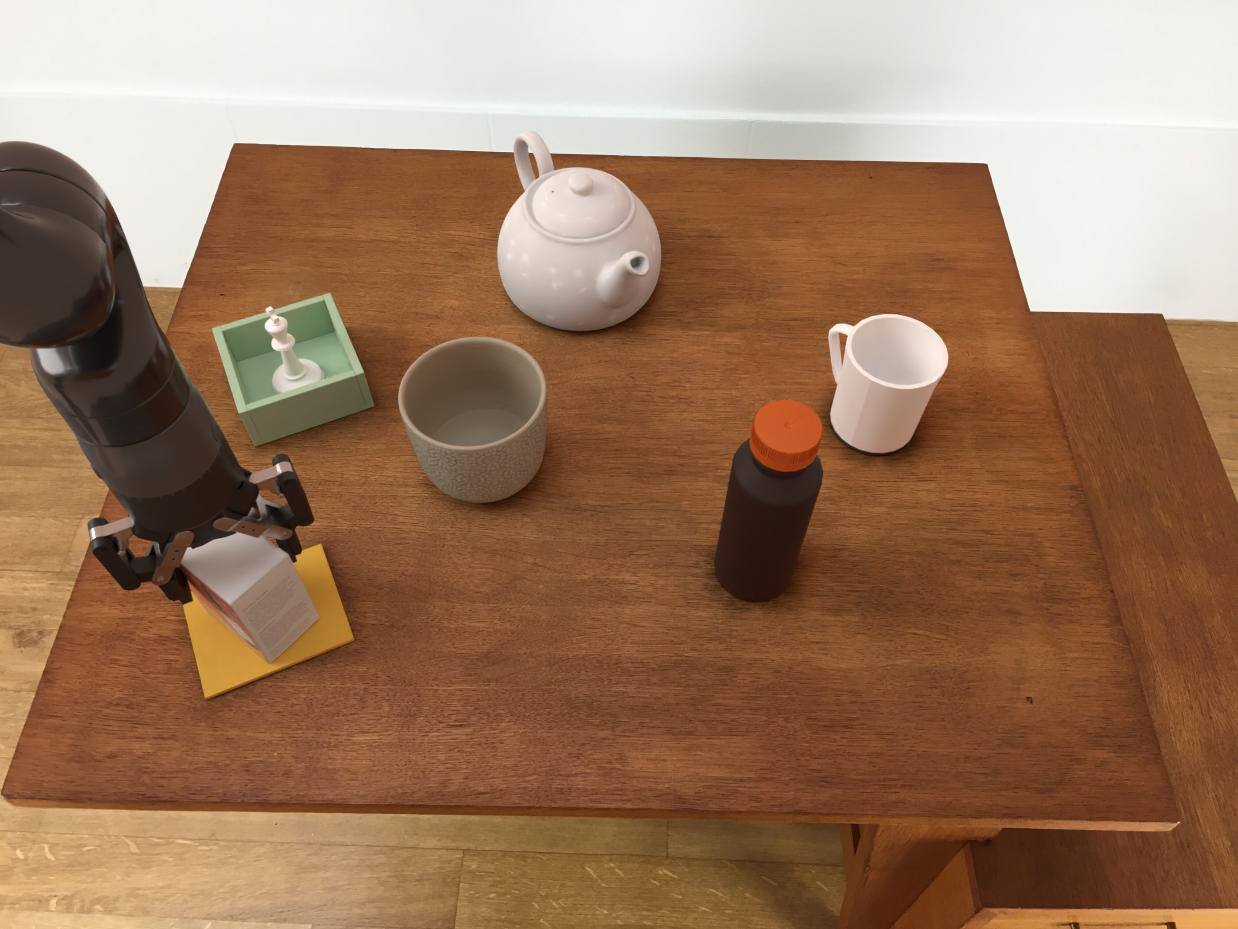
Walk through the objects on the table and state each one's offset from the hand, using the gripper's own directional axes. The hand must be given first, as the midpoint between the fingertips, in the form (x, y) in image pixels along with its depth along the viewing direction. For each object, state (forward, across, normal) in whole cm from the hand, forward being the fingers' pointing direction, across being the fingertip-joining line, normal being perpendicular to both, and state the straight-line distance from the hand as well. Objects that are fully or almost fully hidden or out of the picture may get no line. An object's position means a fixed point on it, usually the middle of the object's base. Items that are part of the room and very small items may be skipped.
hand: (238, 573), depth 74 cm
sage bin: (+8, -9, -24) cm, 27 cm away
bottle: (+8, -39, +13) cm, 42 cm away
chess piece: (+7, -9, -24) cm, 26 cm away
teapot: (+8, -40, -26) cm, 48 cm away
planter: (+8, -22, -7) cm, 24 cm away
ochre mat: (+8, 0, 0) cm, 8 cm away
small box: (+7, 0, 0) cm, 7 cm away
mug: (+8, -57, +3) cm, 58 cm away
